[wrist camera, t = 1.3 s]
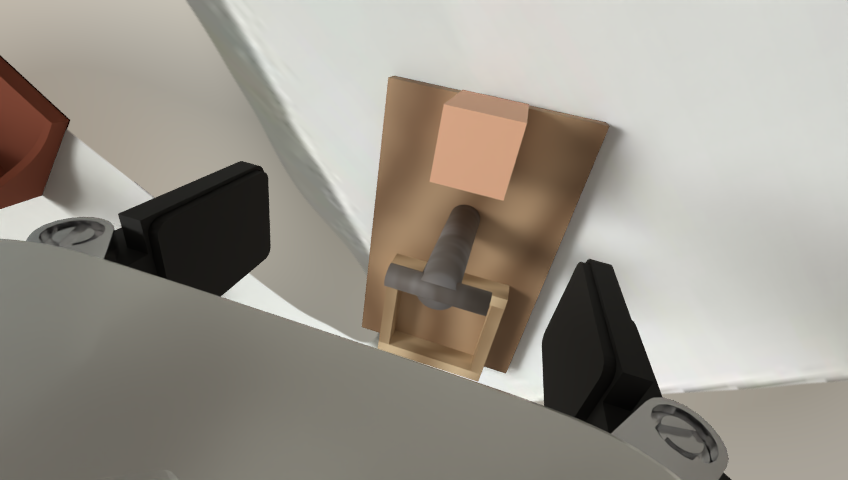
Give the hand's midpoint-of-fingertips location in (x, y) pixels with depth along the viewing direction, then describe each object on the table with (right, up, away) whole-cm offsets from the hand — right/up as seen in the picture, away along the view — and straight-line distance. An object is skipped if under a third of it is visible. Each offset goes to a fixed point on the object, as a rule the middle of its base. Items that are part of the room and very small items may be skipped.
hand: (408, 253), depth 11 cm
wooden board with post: (+3, 0, +21) cm, 21 cm away
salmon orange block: (+5, +8, +15) cm, 18 cm away
